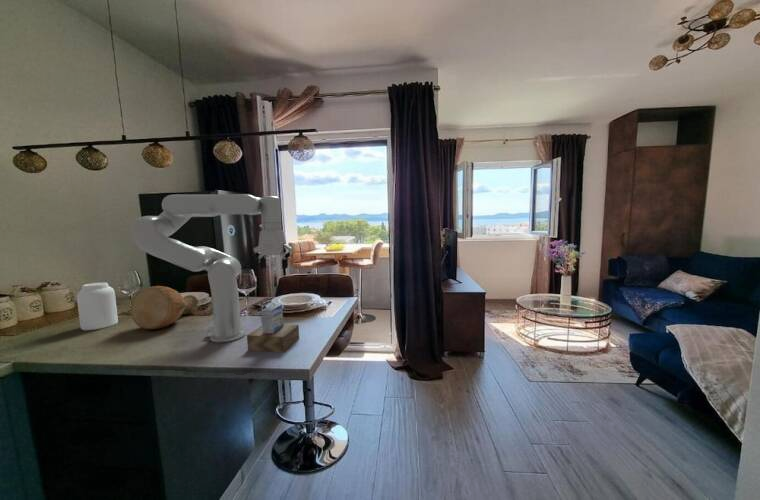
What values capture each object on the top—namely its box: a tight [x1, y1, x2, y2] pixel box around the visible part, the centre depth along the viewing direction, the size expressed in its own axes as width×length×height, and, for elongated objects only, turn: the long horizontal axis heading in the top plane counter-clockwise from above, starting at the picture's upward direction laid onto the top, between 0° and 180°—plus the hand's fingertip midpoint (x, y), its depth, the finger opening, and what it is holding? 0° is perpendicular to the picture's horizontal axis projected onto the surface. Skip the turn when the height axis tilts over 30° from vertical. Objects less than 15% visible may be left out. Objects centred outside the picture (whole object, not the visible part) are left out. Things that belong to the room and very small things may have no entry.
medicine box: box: [260, 304, 284, 334], centre depth 106 cm, size 8×4×9 cm, turn 172°
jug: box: [130, 285, 200, 330], centre depth 135 cm, size 20×19×30 cm
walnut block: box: [246, 323, 300, 353], centre depth 107 cm, size 14×12×6 cm
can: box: [76, 281, 119, 331], centre depth 132 cm, size 12×12×20 cm
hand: (274, 268), depth 118 cm, fingers open, 9 cm apart
